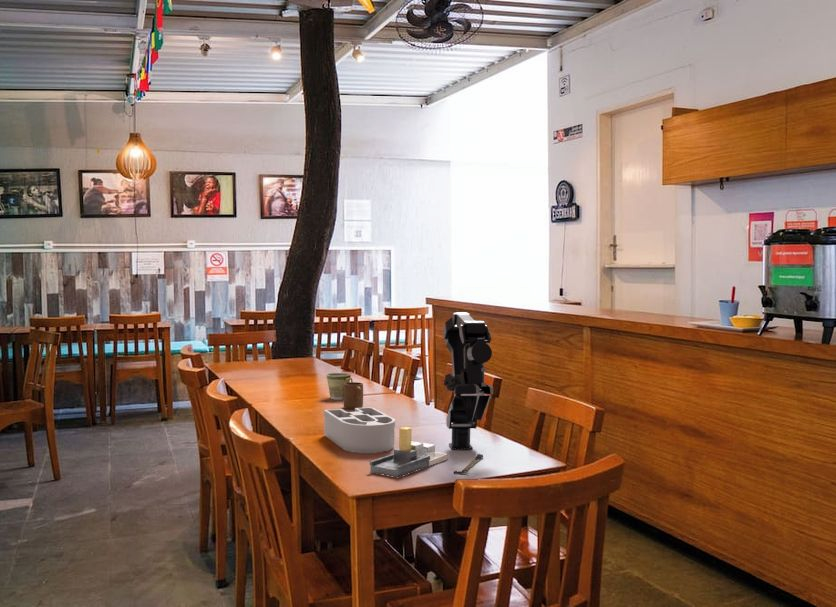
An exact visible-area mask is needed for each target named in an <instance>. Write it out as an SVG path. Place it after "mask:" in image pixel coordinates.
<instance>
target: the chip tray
mask: <svg viewBox="0 0 836 607" xmlns="http://www.w3.org/2000/svg"><path fill="white" fill-rule="evenodd" d="M448 459H449V454H448V453H444V452H438V451H435V458H434V459H431V460H429V467H431V466H430V465H432V466H434V465H437V464H439V463H442V462H444V461H447V460H448ZM436 463H437V464H436ZM433 464H434V465H433Z"/></svg>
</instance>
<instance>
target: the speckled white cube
mask: <svg viewBox="0 0 836 607" xmlns="http://www.w3.org/2000/svg"><path fill="white" fill-rule="evenodd" d="M423 443H424V445H423V457H425V456H430V460H431V459H434V458H435V452H436V444H432V443H426V442H423Z"/></svg>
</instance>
